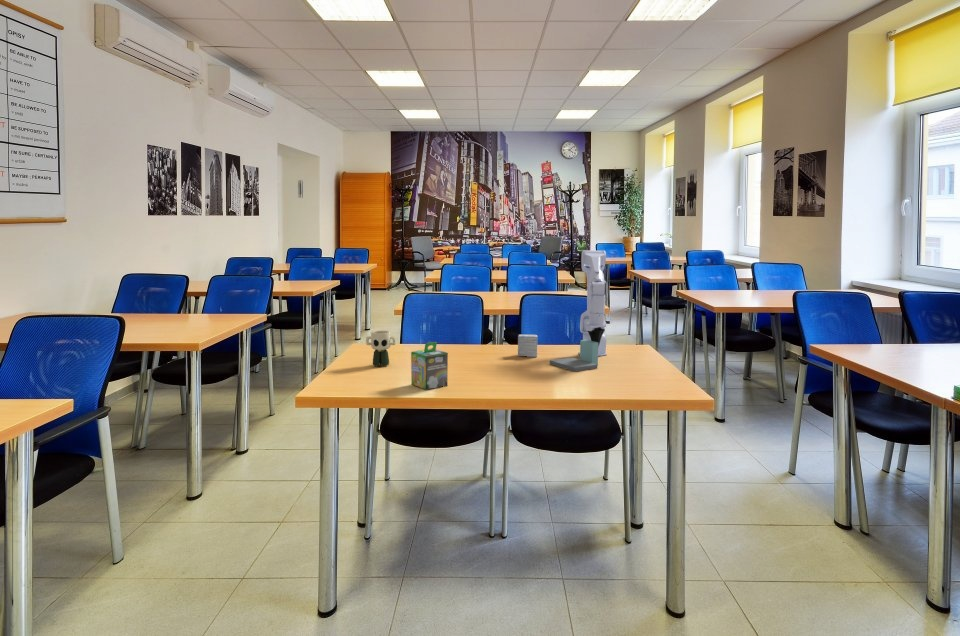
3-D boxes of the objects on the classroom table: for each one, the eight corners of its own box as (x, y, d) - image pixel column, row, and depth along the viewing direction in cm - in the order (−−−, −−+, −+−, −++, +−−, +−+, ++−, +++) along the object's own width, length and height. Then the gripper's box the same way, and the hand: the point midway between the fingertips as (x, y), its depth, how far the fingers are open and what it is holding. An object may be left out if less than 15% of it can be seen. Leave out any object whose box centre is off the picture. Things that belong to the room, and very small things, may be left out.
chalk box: (432, 380, 220) (432, 338, 218) (448, 386, 213) (448, 342, 211) (410, 384, 214) (410, 341, 212) (425, 390, 207) (425, 345, 205)
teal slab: (585, 361, 254) (586, 339, 252) (597, 365, 248) (598, 342, 246) (579, 362, 252) (580, 340, 251) (592, 366, 246) (592, 343, 245)
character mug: (365, 367, 238) (365, 333, 236) (367, 363, 245) (366, 330, 243) (394, 367, 238) (394, 333, 237) (396, 363, 245) (395, 330, 244)
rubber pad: (571, 361, 255) (571, 357, 255) (597, 368, 242) (597, 364, 242) (549, 363, 249) (549, 360, 249) (575, 371, 237) (575, 367, 236)
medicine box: (537, 355, 265) (537, 334, 264) (536, 357, 261) (537, 336, 260) (518, 354, 266) (518, 334, 265) (517, 356, 262) (518, 336, 260)
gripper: (595, 309, 257) (593, 343, 259) (579, 313, 245) (578, 348, 247) (611, 311, 253) (610, 345, 255) (596, 315, 241) (594, 350, 243)
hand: (595, 346), depth 251 cm, fingers closed
